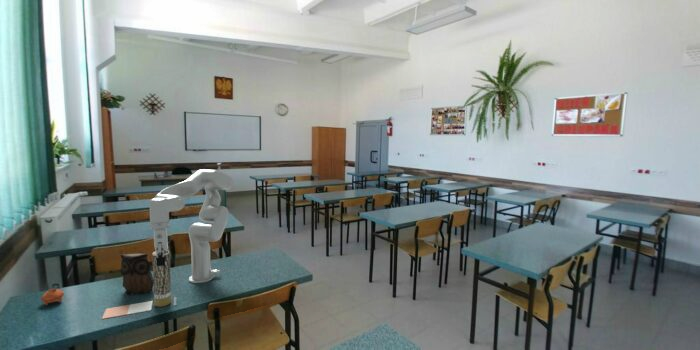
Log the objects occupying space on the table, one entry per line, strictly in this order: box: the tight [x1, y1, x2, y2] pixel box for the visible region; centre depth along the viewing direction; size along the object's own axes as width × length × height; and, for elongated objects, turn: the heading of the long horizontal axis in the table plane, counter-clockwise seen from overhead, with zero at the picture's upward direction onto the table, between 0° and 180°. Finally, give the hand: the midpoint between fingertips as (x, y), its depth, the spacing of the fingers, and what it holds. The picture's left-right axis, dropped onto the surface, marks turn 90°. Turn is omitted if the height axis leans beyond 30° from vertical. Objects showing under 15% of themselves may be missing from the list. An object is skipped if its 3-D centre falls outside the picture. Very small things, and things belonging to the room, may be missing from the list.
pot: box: [40, 288, 65, 306], centre depth 152 cm, size 8×8×7 cm
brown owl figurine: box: [120, 253, 154, 296], centre depth 164 cm, size 13×13×20 cm
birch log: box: [151, 249, 172, 308], centre depth 153 cm, size 7×7×25 cm
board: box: [101, 296, 177, 320], centre depth 150 cm, size 28×9×1 cm, turn 117°
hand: (161, 262), depth 152 cm, fingers closed on birch log, 6 cm apart
